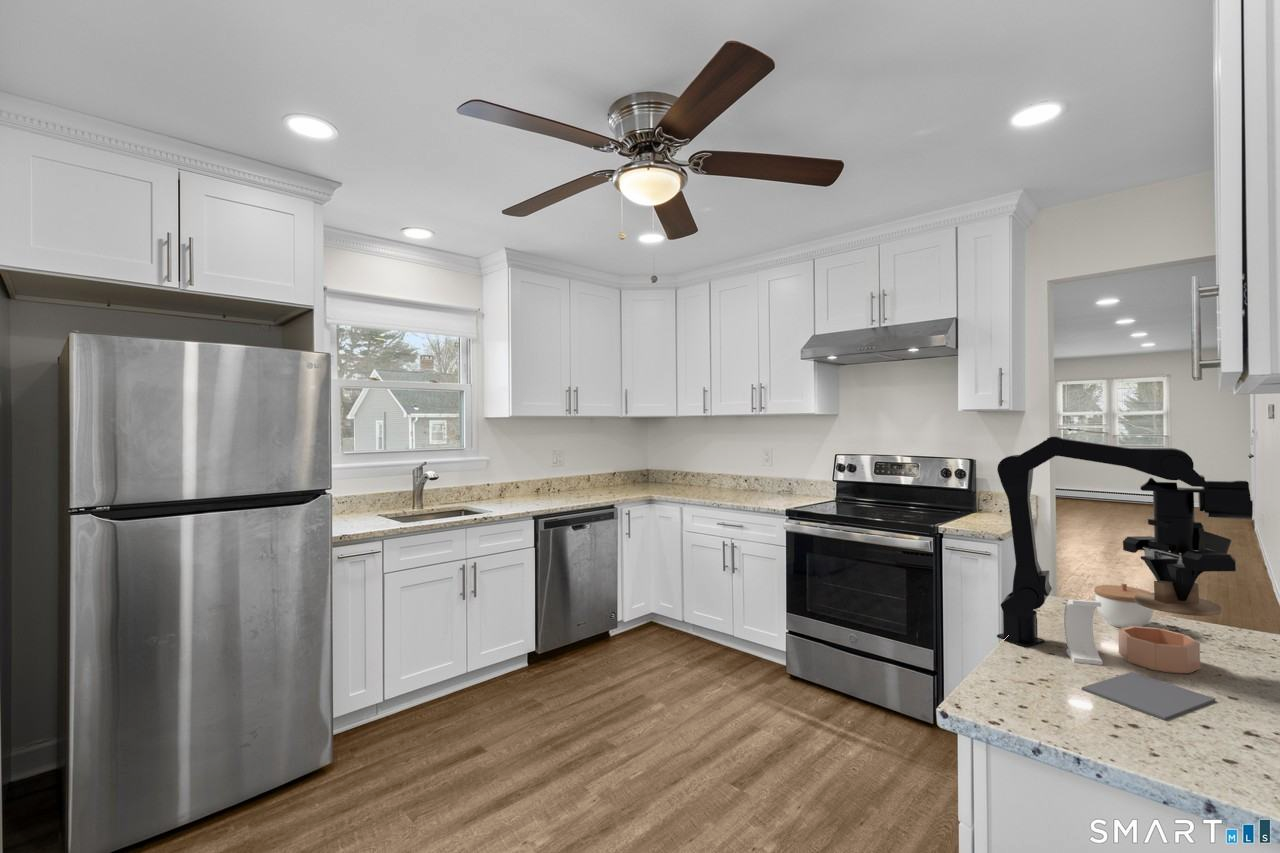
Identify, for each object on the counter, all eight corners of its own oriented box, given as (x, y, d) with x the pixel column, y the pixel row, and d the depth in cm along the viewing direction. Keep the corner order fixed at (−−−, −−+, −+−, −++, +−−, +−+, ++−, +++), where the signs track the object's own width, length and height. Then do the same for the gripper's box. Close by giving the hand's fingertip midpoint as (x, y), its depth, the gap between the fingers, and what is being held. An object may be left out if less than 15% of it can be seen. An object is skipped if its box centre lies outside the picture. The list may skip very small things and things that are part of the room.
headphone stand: (1073, 662, 116) (1072, 600, 116) (1064, 651, 122) (1063, 592, 122) (1102, 665, 114) (1101, 602, 114) (1092, 653, 120) (1090, 594, 120)
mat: (1164, 720, 93) (1164, 717, 93) (1081, 689, 104) (1081, 687, 104) (1215, 700, 99) (1215, 698, 99) (1132, 673, 110) (1132, 671, 110)
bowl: (1177, 678, 108) (1176, 650, 108) (1109, 657, 118) (1108, 631, 118) (1209, 667, 112) (1209, 640, 112) (1141, 647, 123) (1140, 623, 123)
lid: (1169, 616, 106) (1168, 591, 106) (1119, 597, 118) (1118, 574, 118) (1240, 615, 105) (1239, 590, 105) (1183, 596, 117) (1182, 574, 117)
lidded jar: (1084, 621, 139) (1084, 581, 139) (1111, 614, 143) (1110, 575, 143) (1139, 636, 129) (1138, 592, 129) (1165, 628, 134) (1165, 586, 134)
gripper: (1268, 522, 102) (1271, 614, 102) (1177, 508, 121) (1180, 585, 120) (1199, 523, 103) (1202, 614, 103) (1119, 508, 121) (1122, 585, 121)
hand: (1176, 598), depth 112 cm, fingers closed on lid, 2 cm apart
